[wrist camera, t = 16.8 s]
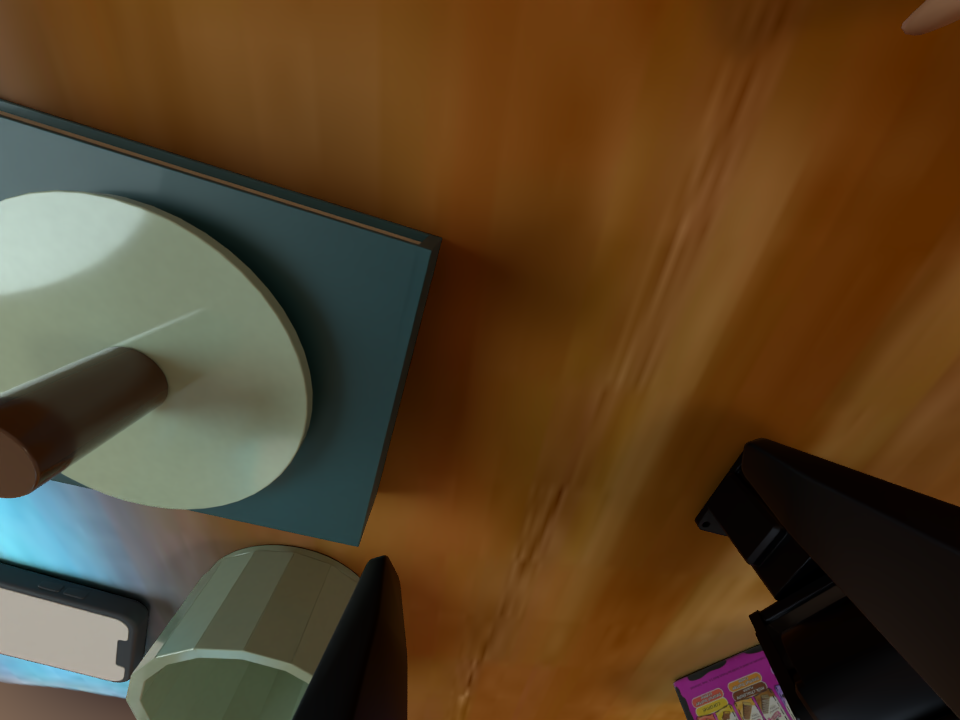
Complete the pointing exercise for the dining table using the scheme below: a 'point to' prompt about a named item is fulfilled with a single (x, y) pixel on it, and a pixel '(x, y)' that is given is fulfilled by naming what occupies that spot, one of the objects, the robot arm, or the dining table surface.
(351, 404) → the book
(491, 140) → the dining table surface
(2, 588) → the smartphone
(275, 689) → the dish
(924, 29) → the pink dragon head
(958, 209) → the dining table surface
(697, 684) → the candy bar box
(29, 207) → the cover
